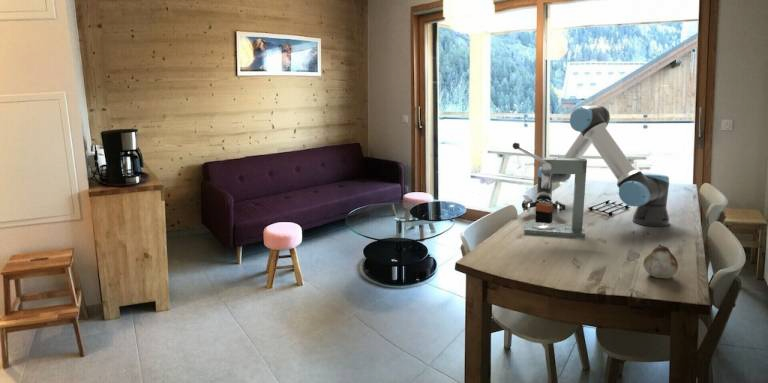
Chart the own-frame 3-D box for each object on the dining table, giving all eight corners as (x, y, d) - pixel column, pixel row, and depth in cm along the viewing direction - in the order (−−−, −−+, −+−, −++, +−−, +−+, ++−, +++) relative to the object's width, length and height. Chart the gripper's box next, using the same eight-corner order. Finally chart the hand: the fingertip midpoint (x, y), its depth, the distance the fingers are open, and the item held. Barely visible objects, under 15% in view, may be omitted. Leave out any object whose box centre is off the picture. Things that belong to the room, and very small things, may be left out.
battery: (538, 220, 238) (539, 200, 236) (552, 222, 234) (553, 202, 231) (534, 222, 235) (535, 201, 233) (548, 224, 230) (549, 203, 228)
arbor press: (582, 229, 221) (588, 140, 213) (584, 238, 209) (591, 144, 200) (511, 224, 231) (514, 139, 223) (509, 233, 218) (512, 142, 210)
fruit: (643, 279, 164) (646, 245, 162) (640, 269, 173) (643, 237, 170) (678, 283, 161) (682, 248, 158) (673, 273, 169) (677, 240, 167)
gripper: (569, 208, 249) (570, 219, 230) (518, 205, 257) (516, 216, 238) (570, 194, 248) (571, 204, 228) (519, 192, 256) (516, 201, 236)
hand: (543, 210), depth 233 cm, fingers open, 13 cm apart
